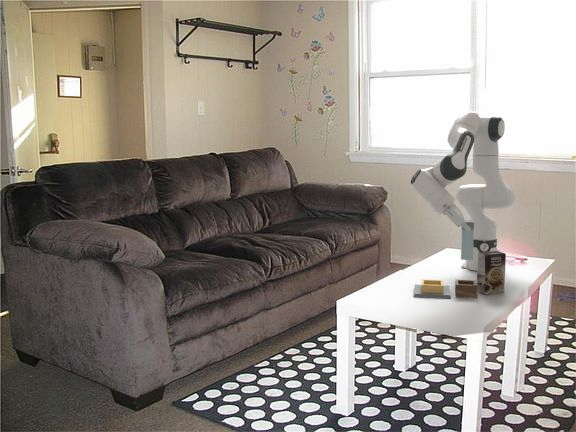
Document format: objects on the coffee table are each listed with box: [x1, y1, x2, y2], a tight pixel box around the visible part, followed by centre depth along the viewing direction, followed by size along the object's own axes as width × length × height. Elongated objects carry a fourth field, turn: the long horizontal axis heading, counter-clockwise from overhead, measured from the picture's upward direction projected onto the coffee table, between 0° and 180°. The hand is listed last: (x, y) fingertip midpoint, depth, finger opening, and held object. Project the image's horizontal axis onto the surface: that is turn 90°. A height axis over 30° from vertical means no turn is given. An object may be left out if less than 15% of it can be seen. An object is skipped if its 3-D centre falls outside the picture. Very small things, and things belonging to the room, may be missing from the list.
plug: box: [460, 219, 474, 261], centre depth 249 cm, size 4×4×15 cm
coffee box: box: [476, 251, 507, 295], centre depth 255 cm, size 9×6×16 cm
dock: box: [413, 279, 451, 299], centre depth 256 cm, size 14×14×4 cm
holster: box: [454, 279, 478, 299], centre depth 252 cm, size 8×8×5 cm
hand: (469, 228), depth 248 cm, fingers closed on plug, 4 cm apart
